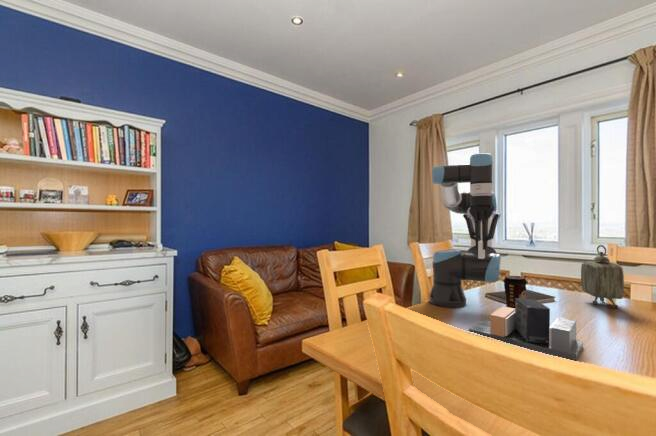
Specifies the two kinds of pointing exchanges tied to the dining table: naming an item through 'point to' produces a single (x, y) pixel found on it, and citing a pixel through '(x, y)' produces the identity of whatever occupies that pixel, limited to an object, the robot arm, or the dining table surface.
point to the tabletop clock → (602, 278)
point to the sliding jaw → (502, 321)
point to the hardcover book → (529, 295)
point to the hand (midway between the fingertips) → (481, 258)
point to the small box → (532, 320)
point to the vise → (559, 343)
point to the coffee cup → (514, 289)
